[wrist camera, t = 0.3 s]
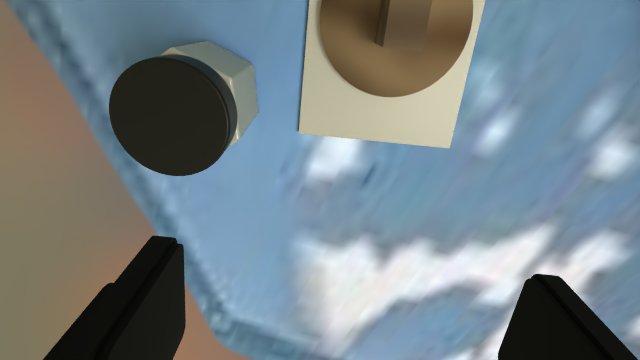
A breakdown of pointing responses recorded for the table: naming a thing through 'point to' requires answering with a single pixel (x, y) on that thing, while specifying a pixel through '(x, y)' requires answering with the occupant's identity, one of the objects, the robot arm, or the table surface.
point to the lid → (394, 41)
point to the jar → (183, 107)
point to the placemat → (379, 98)
